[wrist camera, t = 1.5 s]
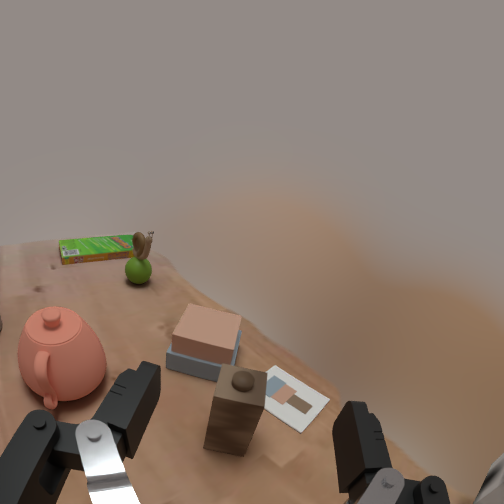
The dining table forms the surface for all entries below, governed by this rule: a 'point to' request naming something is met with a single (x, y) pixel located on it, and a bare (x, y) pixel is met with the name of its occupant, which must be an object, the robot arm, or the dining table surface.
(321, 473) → the dining table surface
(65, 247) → the game box
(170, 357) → the tower base
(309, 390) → the page
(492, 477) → the toy llama
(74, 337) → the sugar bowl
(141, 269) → the snail figurine
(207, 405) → the dining table surface
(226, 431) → the walnut brick
